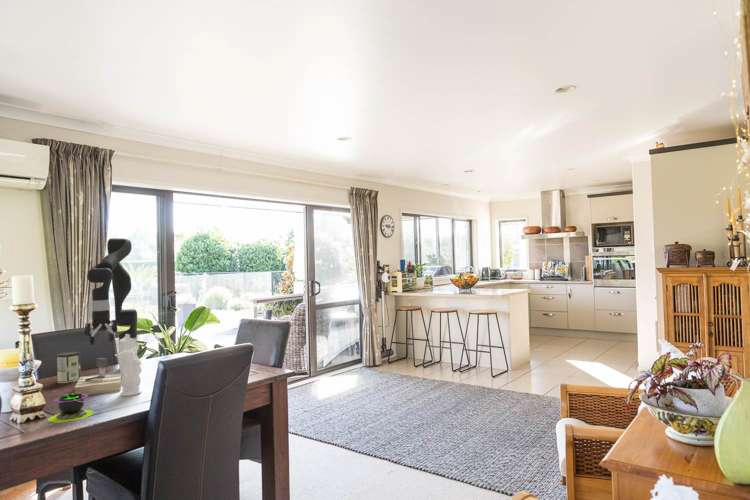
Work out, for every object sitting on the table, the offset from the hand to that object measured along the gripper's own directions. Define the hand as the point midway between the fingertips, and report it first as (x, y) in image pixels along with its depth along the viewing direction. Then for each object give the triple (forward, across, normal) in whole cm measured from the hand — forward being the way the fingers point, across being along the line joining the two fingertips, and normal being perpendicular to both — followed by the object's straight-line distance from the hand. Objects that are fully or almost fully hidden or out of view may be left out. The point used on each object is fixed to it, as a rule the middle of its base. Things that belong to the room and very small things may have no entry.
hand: (101, 343), depth 233 cm
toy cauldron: (+21, +31, +38) cm, 53 cm away
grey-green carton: (+21, +2, -29) cm, 36 cm away
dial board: (+21, +2, +2) cm, 21 cm away
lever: (+16, +3, 0) cm, 17 cm away
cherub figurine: (+21, +2, +26) cm, 33 cm away
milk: (+21, -18, -9) cm, 29 cm away
